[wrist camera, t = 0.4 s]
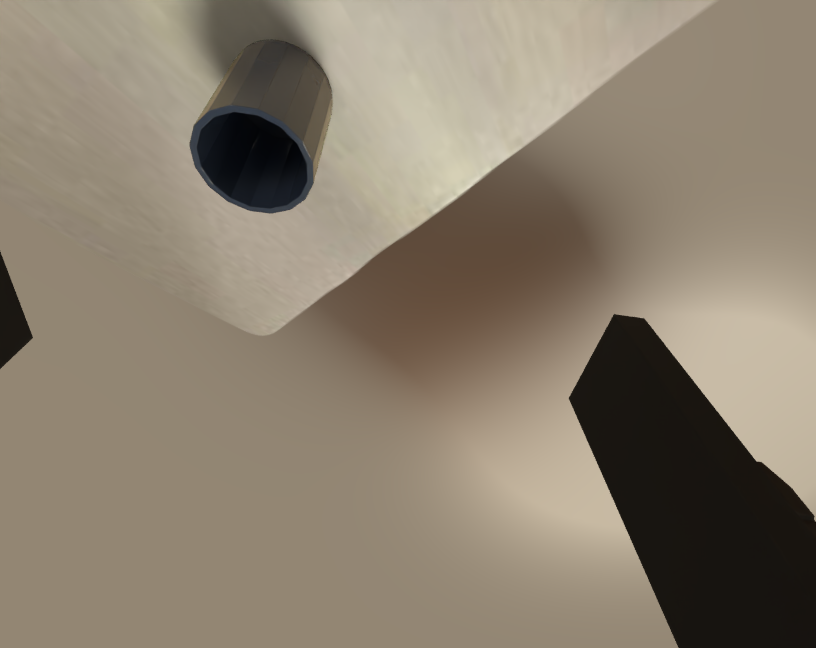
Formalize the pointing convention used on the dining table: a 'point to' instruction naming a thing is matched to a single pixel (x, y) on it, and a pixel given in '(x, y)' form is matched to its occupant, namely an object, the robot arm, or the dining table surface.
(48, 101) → the dining table surface
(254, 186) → the cup
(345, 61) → the dining table surface
